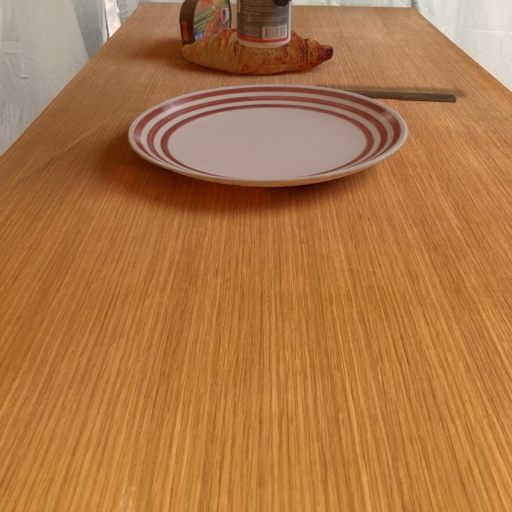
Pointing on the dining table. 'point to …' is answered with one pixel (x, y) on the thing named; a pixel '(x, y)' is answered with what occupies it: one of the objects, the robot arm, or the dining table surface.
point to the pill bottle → (263, 23)
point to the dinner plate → (267, 134)
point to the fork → (406, 96)
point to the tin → (203, 19)
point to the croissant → (256, 54)
